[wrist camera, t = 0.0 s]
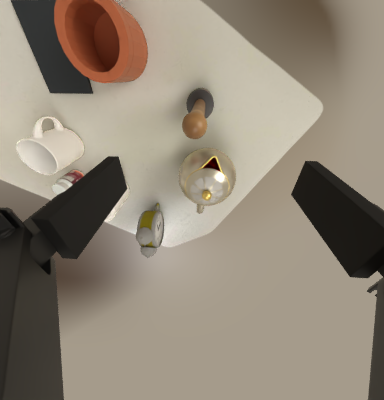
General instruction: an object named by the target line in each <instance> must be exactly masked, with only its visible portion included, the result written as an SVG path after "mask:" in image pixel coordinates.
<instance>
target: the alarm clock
mask: <svg viewBox="0 0 384 400" xmlns="http://www.w3.org/2000/svg"><path fill="white" fill-rule="evenodd" d="M163 234H164V219H163V215H162V213H161V212H160V211H159V204H158V203H157V205H156V207H155V209H154V211H145V212H143V213H142V214H141V216H140V218H139V222H138V227H137V233H136V239H137V241H138V242H139V244H140V246H141V253H142V254H143V255H144V256H146V257H147V258H148V257H150V256H153V255H154V254H155V253H156V251H157V249H156V248H158V247H159V246H160V245H161V243H162V239H163Z"/></svg>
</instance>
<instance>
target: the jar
mask: <svg viewBox="0 0 384 400" xmlns="http://www.w3.org/2000/svg"><path fill="white" fill-rule="evenodd" d="M54 22H55V27H56V31H57V36H58V39H59V42H60V44H61V46H62V48H63V50H64V53H65V54H66V56H67V57H68V59H69V60H70V61H71V63H72V64H73V66H74V67H75V68H76V69H78V70H79V71H80V72H81V73H82V74H83V75H84V76H86V77H88V78H89V79H91V80H93V81H96V82H101V83H115V82H128V81H133V80H135V79H137V78H138V77H139V76H140V75H141V74H142V73H143V71H144V69H145V67H146V63H147V55H148V52H147V43H146V39H145V36H144V33H143V31H142V29H141V27H140V26H139V24H138V22H137V21H136V20H135V19H134V18H133V16H132V15H131V14H130V13H129V12H127V11H126V10H125V9H124V8H122V7H121V6H120V5H119V4H118V3H116V2H115V1H114V0H56V3H55V6H54Z"/></svg>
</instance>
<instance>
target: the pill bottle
mask: <svg viewBox="0 0 384 400" xmlns="http://www.w3.org/2000/svg"><path fill="white" fill-rule="evenodd" d="M83 176H85V175H84V174H83V173H82V172H80V171H78V170H72V171H70V172H69V173H67V174H66V175H64V176H63V177H61V178H60V179H58V180H57V182H56V183H55V184H54V185H53V186H52V190H53V192H54V193H55V194H57V195H58V194H60V193H62V192H64V191H66V190H67V189H68V188H69V187H71V186H72V185H73V184H75V183H76V182H77V181H78V180H80V179H81V178H82V177H83Z"/></svg>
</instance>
